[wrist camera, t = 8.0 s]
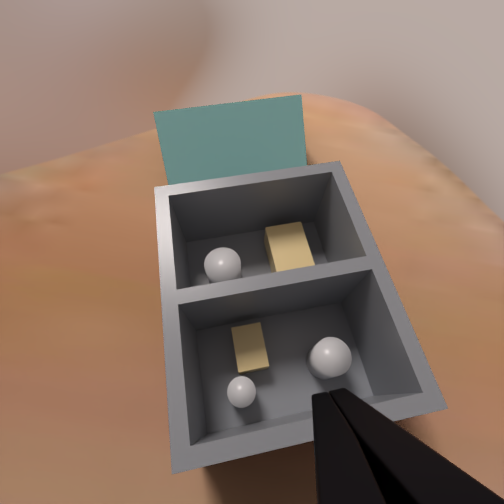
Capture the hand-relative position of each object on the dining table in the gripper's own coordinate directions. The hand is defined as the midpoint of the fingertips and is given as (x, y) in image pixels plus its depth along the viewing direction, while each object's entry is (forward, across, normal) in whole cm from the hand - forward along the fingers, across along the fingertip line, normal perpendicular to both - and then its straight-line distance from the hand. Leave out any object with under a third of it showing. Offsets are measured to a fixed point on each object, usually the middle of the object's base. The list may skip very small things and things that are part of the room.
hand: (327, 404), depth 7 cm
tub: (+9, 0, +2) cm, 9 cm away
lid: (+14, 0, -6) cm, 15 cm away
